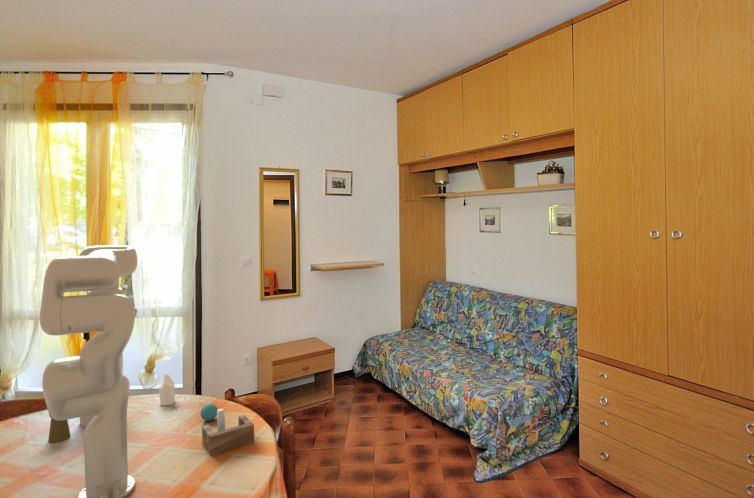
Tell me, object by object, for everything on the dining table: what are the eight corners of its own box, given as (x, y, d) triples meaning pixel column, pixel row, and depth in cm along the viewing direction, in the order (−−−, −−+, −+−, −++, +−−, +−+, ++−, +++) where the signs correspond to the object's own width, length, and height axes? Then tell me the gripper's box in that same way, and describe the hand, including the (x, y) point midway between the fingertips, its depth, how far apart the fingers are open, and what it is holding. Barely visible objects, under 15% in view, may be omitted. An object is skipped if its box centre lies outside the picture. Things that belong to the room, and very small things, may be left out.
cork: (44, 440, 138) (43, 408, 138) (64, 432, 143) (63, 401, 143) (53, 444, 135) (52, 411, 135) (74, 436, 141) (73, 405, 140)
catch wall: (254, 442, 137) (253, 424, 136) (210, 456, 128) (210, 437, 128) (244, 431, 144) (244, 414, 143) (202, 444, 135) (201, 426, 135)
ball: (220, 420, 152) (219, 404, 152) (203, 425, 149) (202, 408, 148) (215, 415, 157) (215, 399, 157) (198, 419, 153) (198, 403, 153)
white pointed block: (171, 376, 166) (156, 376, 165) (172, 405, 166) (157, 406, 165) (176, 371, 172) (161, 372, 171) (176, 399, 172) (162, 400, 171)
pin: (225, 434, 142) (225, 410, 141) (218, 436, 140) (218, 412, 140) (223, 432, 143) (223, 408, 143) (216, 434, 142) (216, 409, 142)
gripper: (71, 288, 121) (73, 346, 122) (138, 284, 132) (139, 336, 133) (69, 286, 127) (71, 341, 127) (134, 281, 138) (135, 332, 138)
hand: (106, 338), depth 130 cm, fingers open, 9 cm apart
